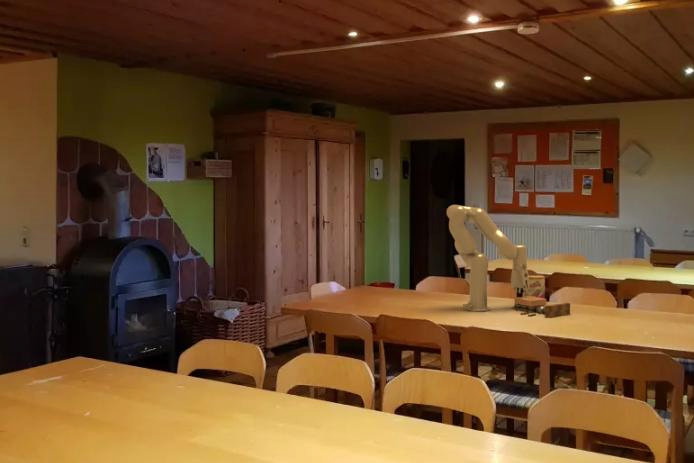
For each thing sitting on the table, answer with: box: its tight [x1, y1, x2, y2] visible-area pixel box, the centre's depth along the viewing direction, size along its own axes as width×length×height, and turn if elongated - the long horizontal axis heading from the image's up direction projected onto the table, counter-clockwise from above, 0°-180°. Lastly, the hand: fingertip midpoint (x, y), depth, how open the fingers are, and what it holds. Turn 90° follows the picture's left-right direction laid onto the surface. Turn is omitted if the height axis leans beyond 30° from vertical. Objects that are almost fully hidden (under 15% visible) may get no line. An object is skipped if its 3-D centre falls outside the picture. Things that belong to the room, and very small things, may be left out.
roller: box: [535, 306, 545, 315], centre depth 382 cm, size 7×3×3 cm, turn 120°
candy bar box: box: [523, 275, 546, 299], centre depth 407 cm, size 11×5×16 cm, turn 84°
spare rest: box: [520, 311, 537, 318], centre depth 377 cm, size 5×6×1 cm
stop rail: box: [544, 302, 571, 319], centre depth 373 cm, size 16×2×6 cm, turn 120°
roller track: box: [511, 303, 545, 316], centre depth 387 cm, size 9×25×4 cm, turn 30°
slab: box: [513, 295, 547, 307], centre depth 390 cm, size 11×13×3 cm
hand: (519, 300), depth 398 cm, fingers closed
